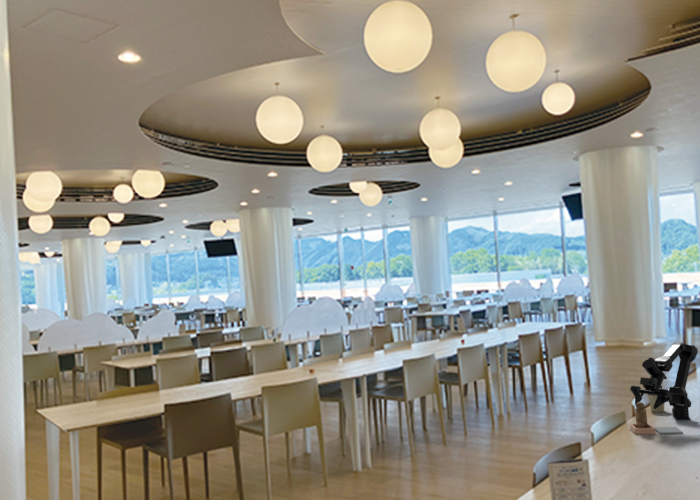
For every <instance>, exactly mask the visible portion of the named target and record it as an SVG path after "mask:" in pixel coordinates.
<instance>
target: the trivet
mask: <svg viewBox="0 0 700 500" xmlns="http://www.w3.org/2000/svg"><path fill="white" fill-rule="evenodd" d="M653 427H654V428H655V432H657V433H658V434H659V435H684V432H683V431H682V430H681V429H679V428H678V427H677V426H653Z"/></svg>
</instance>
